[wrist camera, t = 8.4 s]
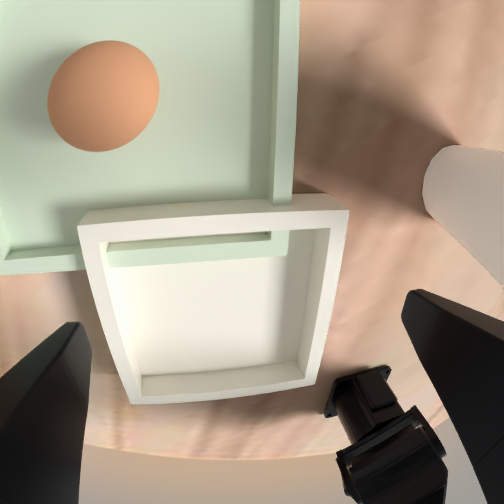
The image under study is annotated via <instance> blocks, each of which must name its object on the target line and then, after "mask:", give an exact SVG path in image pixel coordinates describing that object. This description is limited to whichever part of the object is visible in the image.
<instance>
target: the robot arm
mask: <svg viewBox="0 0 504 504" xmlns="http://www.w3.org/2000/svg"><path fill="white" fill-rule="evenodd" d="M401 319H402V322H403V324H404V326H405V329H406V331H407V333H408V335H409V337H410V340H411V342H412V344H413V346H414V349H415V351H416V353H417V355H418V357H419V360H420V362H421V363H422V365H423V367H424V369H425V371H426V373H427V375H428V376H429V378H430V380H431V382H432V384H433V386H434V388H435V389H436V391H437V393H438V395H439V397H440V399H441V401H442V403H443V405H444V407H445V409H446V411H447V413H448V415H449V417H450V419H451V421H452V423H453V425H454V427H455V429H456V431H457V433H458V435H459V437H460V439H461V442H462V444H463V446H464V448H465V450H466V452H467V455H468V457H469V459H470V461H471V464H472V466H473V469H474V471H475V473H476V476H477V478H478V481H479V483H480V486H481V488H482V491H483V493H484V496H485V498H486V501H487V504H504V322H503V321H501V320H498V319H496V318H493V317H491V316H489V315H486V314H484V313H481V312H479V311H476V310H474V309H471V308H469V307H466V306H464V305H461V304H459V303H456V302H454V301H451V300H448V299H446V298H443V297H441V296H438V295H436V294H433V293H431V292H428V291H425V290H423V289H416V290H411V291H409V292H408V294H407V296H406V300H405V303H404V306H403V310H402V313H401ZM91 358H92V350H91V346H90V343H89V340H88V337H87V334H86V332H85V329H84V326H83V324H82V323H81V322H66V323H65V324H64V325H62V326H61V327H60V328H59V329H57V330H56V331H55V332H54V333H53V334H51V335H50V336H49V337H48V338H46V339H45V340H44V341H43V342H42V343H40V344H39V345H38V346H37V347H36V348H34V349H33V350H32V351H31V352H30V353H28V354H27V355H26V356H25V357H24V358H23V359H21V360H20V361H19V362H18V363H17V364H16V365H14V366H13V367H12V368H11V369H10V370H9V371H8V372H6V373H5V374H4V375H3V376H2V377H1V378H0V504H78V499H79V483H80V470H81V459H82V449H83V441H84V433H85V425H86V418H87V411H88V403H89V385H90V370H91ZM390 372H391V368H390V366H386V367H382V368H379V369H375V370H371V371H367V372H364V373H360V374H356V375H352V376H348V377H344V378H340V379H337V380H336V381H335V382H334V385H333V388H332V391H331V394H330V397H329V400H328V403H327V406H326V409H325V412H324V416H325V418H330V417H333V416H337V415H338V417H339V419H340V421H341V423H342V425H343V427H344V430H345V432H346V434H347V436H348V438H349V440H350V442H351V444H352V445H351V446H349V447H347V448H345V449H343V450H339V451H337V452H336V454H337V458H336V461H337V464H338V466H339V468H340V471H341V475H342V480H343V486H344V492H345V494H346V495H347V496H351V497H352V498H353V499H354V500H355V501H356V503H357V504H445V497H446V488H447V478H448V470H447V468H446V466H445V464H444V462H443V461H442V459H441V458H443V457H444V456H445V455H446V451H445V449H444V447H443V445H442V443H441V442H440V440H439V438H438V437H437V435H436V434H435V432H434V431H433V429H432V428H431V426H430V425H429V423H428V422H427V421H426V419H425V418H424V417H423V415H422V414H421V412H420V411H419V410H418V408H417V407H416V406H415V405H414V406H413V407H411V408H410V410H408V411H407V412H404V411H403V409H402V408H401V406H400V404H399V403H398V401H397V397H396V396H395V394H394V393H393V391H392V390H391V388H390V386H389V385H388V383H387V382H386V381H387V379H388V377H389V375H390ZM416 427H418V428H416ZM415 428H416V429H415Z"/></svg>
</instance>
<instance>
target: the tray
mask: <svg viewBox="0 0 504 504" xmlns="http://www.w3.org/2000/svg"><path fill="white" fill-rule="evenodd" d="M299 17H300V0H0V275H14V274H30V273H45V272H61V271H76V270H86V267H85V262H84V258H83V254H82V249H81V245H80V240H79V235H78V230H77V225H78V224H79V222H80V221H81V220H82V218H83V217H84V216H85V214H86V213H87V212H88V211H91V210H100V209H111V208H122V207H133V206H145V205H158V204H171V203H186V202H203V201H221V200H243V199H268V200H269V201H270V203H271V204H272V205H273V206H274V205H291V199H292V184H293V169H294V152H295V134H296V113H297V90H298V61H299ZM107 40H112V41H121V42H125V43H128V44H131V45H133V46H135V47H137V48H138V49H139V50H141V51H142V52H143V53H144V54H145V55H147V56H148V58H149V59H150V60H151V62H152V63H153V65H154V67H155V69H156V72H157V75H158V79H159V88H160V91H159V100H158V104H157V107H156V111H155V113H154V115H153V117H152V119H151V121H150V122H149V124H148V125H147V126H146V128H145V129H144V130H143V131H142V132H141V133H140V134H139V135H138V136H137V137H136V138H135V139H133V140H132V141H130V142H129V143H127V144H126V145H123V146H121V147H119V148H116V149H113V150H110V151H105V152H89V151H84V150H80V149H78V148H75V147H73V146H71V145H69V144H68V143H67V142H65V141H64V140H63V139H62V138H61V137H60V136H59V135H58V133H57V132H56V131H55V129H54V127H53V126H52V124H51V121H50V118H49V114H48V108H47V97H48V91H49V87H50V84H51V81H52V79H53V77H54V75H55V73H56V71H57V70H58V68H59V67H60V65H61V64H62V63H63V62H64V61H65V60H66V59H67V58H68V57H69V56H70V55H71V54H73V53H74V52H76V51H77V50H78V49H80V48H82V47H84V46H86V45H89V44H91V43H94V42H99V41H107ZM288 239H289V230H280V231H267V233H259V234H242V235H226V236H211V237H196V238H181V239H167V240H153V241H140V242H127V243H114V244H109V246H108V248H107V250H106V256H107V261H108V266H109V268H120V267H134V266H148V265H163V264H177V263H190V262H204V261H218V260H231V259H245V258H258V257H271V256H284V255H287V251H288Z"/></svg>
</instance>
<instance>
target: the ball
mask: <svg viewBox="0 0 504 504" xmlns="http://www.w3.org/2000/svg"><path fill="white" fill-rule="evenodd" d="M159 91H160V88H159V79H158V75H157V72H156V69H155V67H154V65H153V63H152V62H151V60H150V59H149V58H148V56H147V55H145V54H144V53H143V52H142V51H141V50H139V49H138V48H137V47H135V46H133V45H131V44H128V43H125V42H121V41H112V40H107V41H99V42H94V43H91V44H89V45H86V46H84V47H82V48H80V49H78V50H77V51H76V52H74V53H73V54H71V55H70V56H69V57H68V58H67V59H66V60H65V61H64V62H63V63H62V64H61V65H60V67H59V68H58V70H57V71H56V73H55V75H54V77H53V79H52V81H51V84H50V87H49V91H48V97H47V108H48V114H49V118H50V121H51V124H52V126H53V127H54V129H55V131H56V132H57V133H58V135H59V136H60V137H61V138H62V139H63V140H64V141H65V142H67V143H68V144H69V145H71V146H73V147H75V148H78V149H80V150H84V151H89V152H105V151H110V150H113V149H116V148H119V147H121V146H123V145H126V144H127V143H129V142H130V141H132V140H133V139H135V138H136V137H137V136H138V135H139V134H140V133H141V132H142V131H143V130H144V129H145V128H146V126H147V125H148V124H149V122H150V121H151V119H152V117H153V115H154V113H155V111H156V107H157V104H158V100H159Z"/></svg>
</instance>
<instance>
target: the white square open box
mask: <svg viewBox="0 0 504 504" xmlns="http://www.w3.org/2000/svg"><path fill="white" fill-rule="evenodd" d="M348 217H349V209H348V208H346V207H345V206H344V205H342V204H341V203H340V202H338V201H337V200H335V199H334V198H333V197H331V196H330V195H329V194H327V193H310V194H292V199H291V205H274V206H273V205H272V204H271V203H270V201H269V200H268V199H243V200H221V201H203V202H186V203H171V204H158V205H145V206H133V207H122V208H111V209H100V210H91V211H88V212H87V213H86V214H85V216H84V217H83V218H82V220H81V221H80V222H79V224H78V225H77V230H78V235H79V240H80V245H81V249H82V254H83V258H84V262H85V267H86V271H87V275H88V279H89V283H90V287H91V290H92V294H93V298H94V301H95V305H96V308H97V311H98V315H99V318H100V321H101V325H102V328H103V331H104V334H105V337H106V340H107V343H108V346H109V349H110V352H111V354H112V357H113V360H114V363H115V365H116V368H117V371H118V373H119V376H120V379H121V381H122V384H123V386H124V389H125V391H126V394H127V396H128V398H129V401H130V403H131V405H144V404H168V403H184V402H197V401H208V400H218V399H227V398H235V397H243V396H250V395H257V394H264V393H270V392H277V391H282V390H288V389H294V388H299V387H304V386H309V385H314V384H315V382H316V378H317V374H318V370H319V366H320V362H321V358H322V354H323V350H324V345H325V341H326V337H327V332H328V328H329V323H330V318H331V314H332V309H333V304H334V299H335V294H336V289H337V283H338V278H339V273H340V267H341V261H342V256H343V250H344V243H345V237H346V231H347V224H348ZM280 230H289V239H288V251H287V255H284V256H271V257H258V258H245V259H231V260H218V261H204V262H190V263H177V264H163V265H148V266H134V267H120V268H109V266H108V261H107V256H106V250H107V248H108V246H109V244H114V243H127V242H140V241H153V240H167V239H181V238H196V237H211V236H226V235H242V234H259V233H267V231H280Z"/></svg>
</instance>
